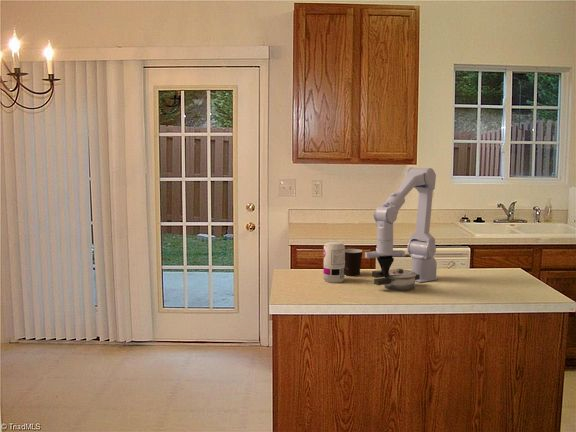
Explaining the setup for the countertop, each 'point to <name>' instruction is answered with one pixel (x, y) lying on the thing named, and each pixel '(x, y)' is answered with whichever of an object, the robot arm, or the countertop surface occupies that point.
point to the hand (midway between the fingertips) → (384, 276)
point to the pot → (398, 283)
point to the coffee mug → (353, 262)
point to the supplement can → (334, 262)
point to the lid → (395, 273)
